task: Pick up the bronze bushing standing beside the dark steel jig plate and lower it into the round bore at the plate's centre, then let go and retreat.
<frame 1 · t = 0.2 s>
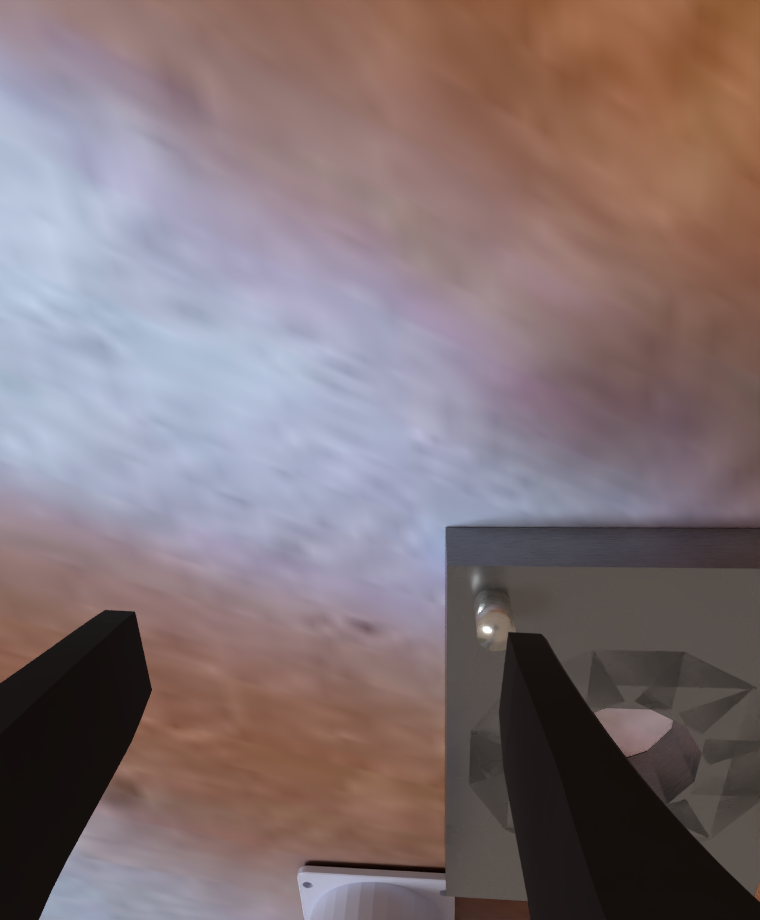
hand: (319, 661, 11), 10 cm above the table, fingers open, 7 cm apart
jig: (602, 713, 25), on the table
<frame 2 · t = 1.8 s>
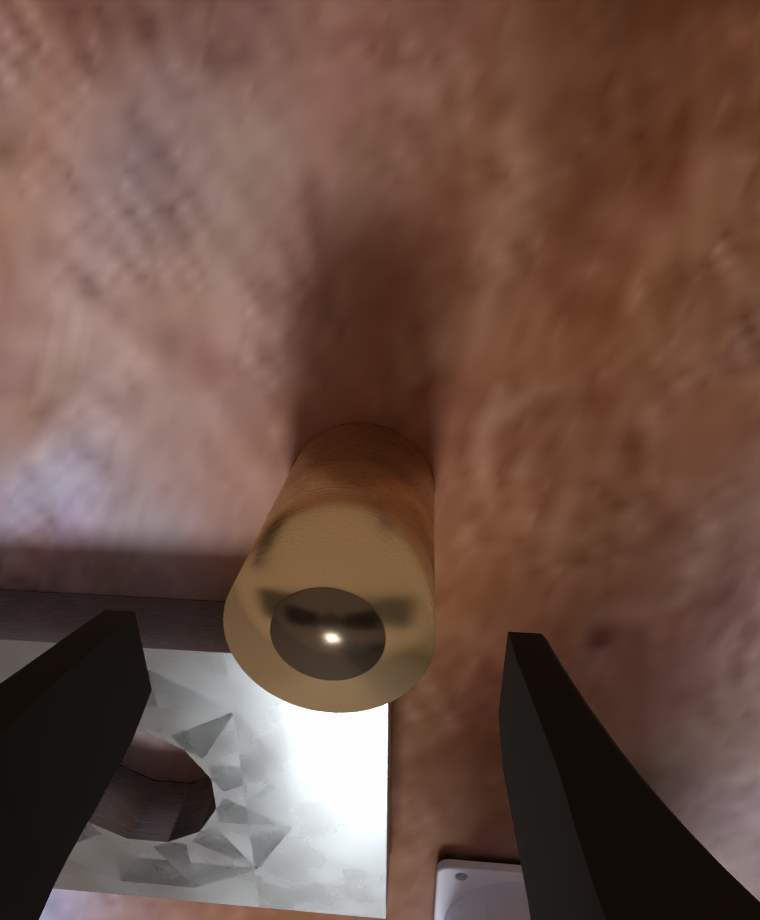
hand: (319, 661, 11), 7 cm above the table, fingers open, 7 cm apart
jig: (162, 731, 23), on the table
bushing: (362, 489, 18), on the table
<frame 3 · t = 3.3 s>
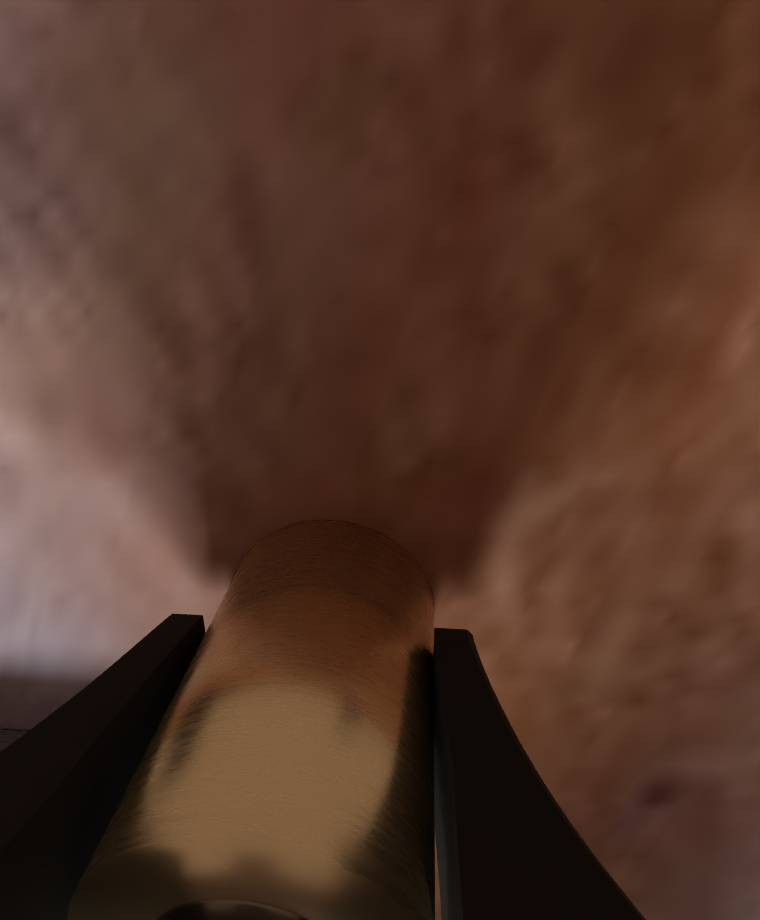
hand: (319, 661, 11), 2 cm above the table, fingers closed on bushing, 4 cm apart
jig: (84, 884, 18), on the table
bushing: (332, 607, 13), on the table, touching gripper
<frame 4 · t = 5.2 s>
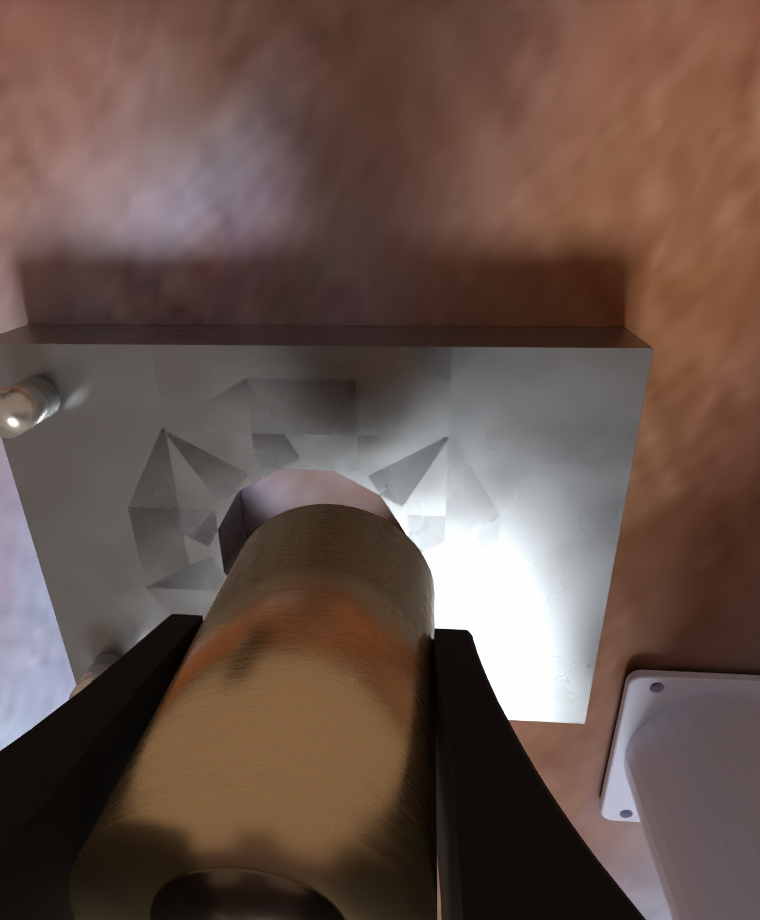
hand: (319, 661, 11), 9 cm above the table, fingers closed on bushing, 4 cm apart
jig: (325, 515, 20), on the table
bushing: (333, 592, 13), point 7 cm above the table, touching gripper
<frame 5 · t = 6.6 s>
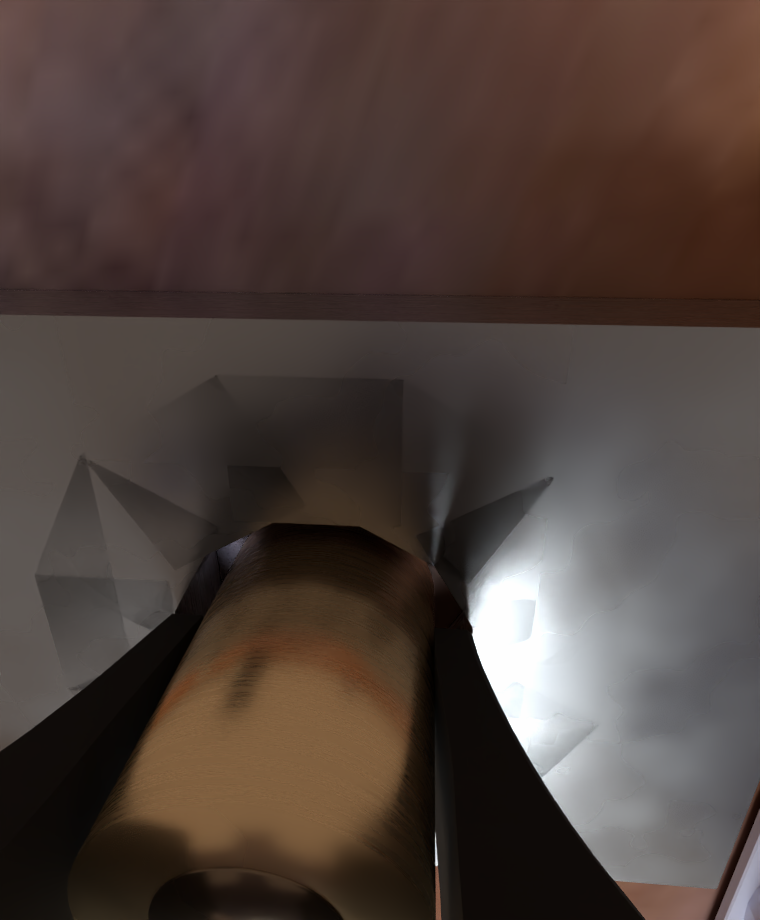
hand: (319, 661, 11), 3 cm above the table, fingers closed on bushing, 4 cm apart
jig: (339, 578, 14), on the table
bushing: (332, 592, 13), point 1 cm above the table, touching gripper
when the fingers open (3 cm above the table, at t = 7.5 s): bushing stays where it is, resting in jig.
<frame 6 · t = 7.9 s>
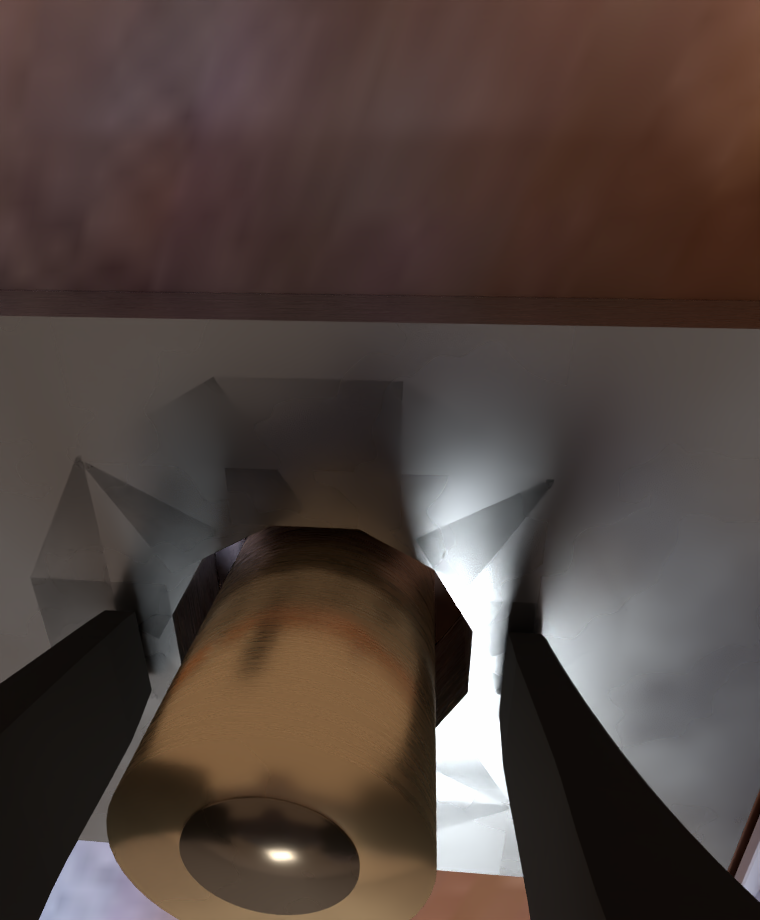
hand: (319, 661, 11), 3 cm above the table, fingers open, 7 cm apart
jig: (338, 580, 14), on the table
bushing: (338, 569, 14), resting in jig
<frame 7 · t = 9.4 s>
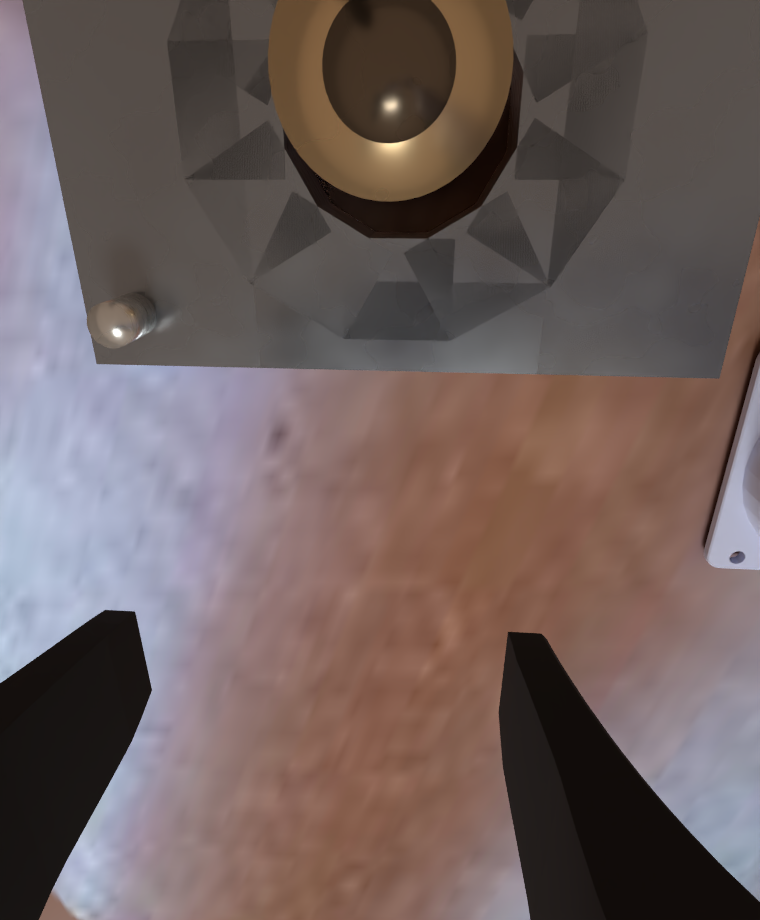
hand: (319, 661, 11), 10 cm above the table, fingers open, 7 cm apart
jig: (403, 121, 17), on the table
bushing: (404, 109, 17), resting in jig
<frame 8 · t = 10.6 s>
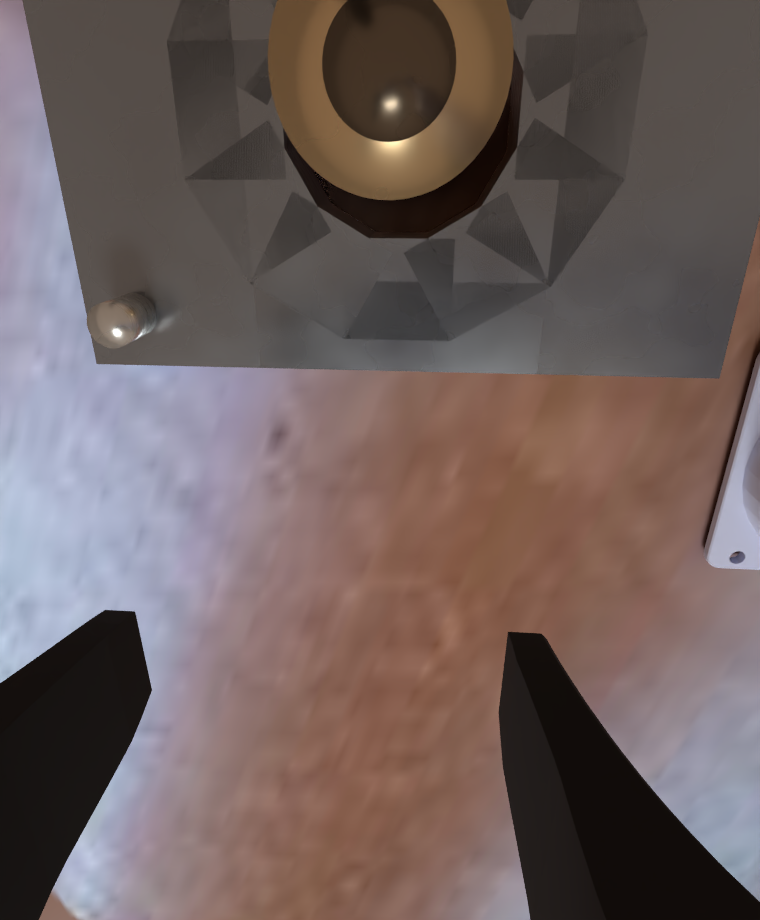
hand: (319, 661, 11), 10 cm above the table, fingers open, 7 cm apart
jig: (403, 121, 17), on the table
bushing: (404, 109, 17), resting in jig
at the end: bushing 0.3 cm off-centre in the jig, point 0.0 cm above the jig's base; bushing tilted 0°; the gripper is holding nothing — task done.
